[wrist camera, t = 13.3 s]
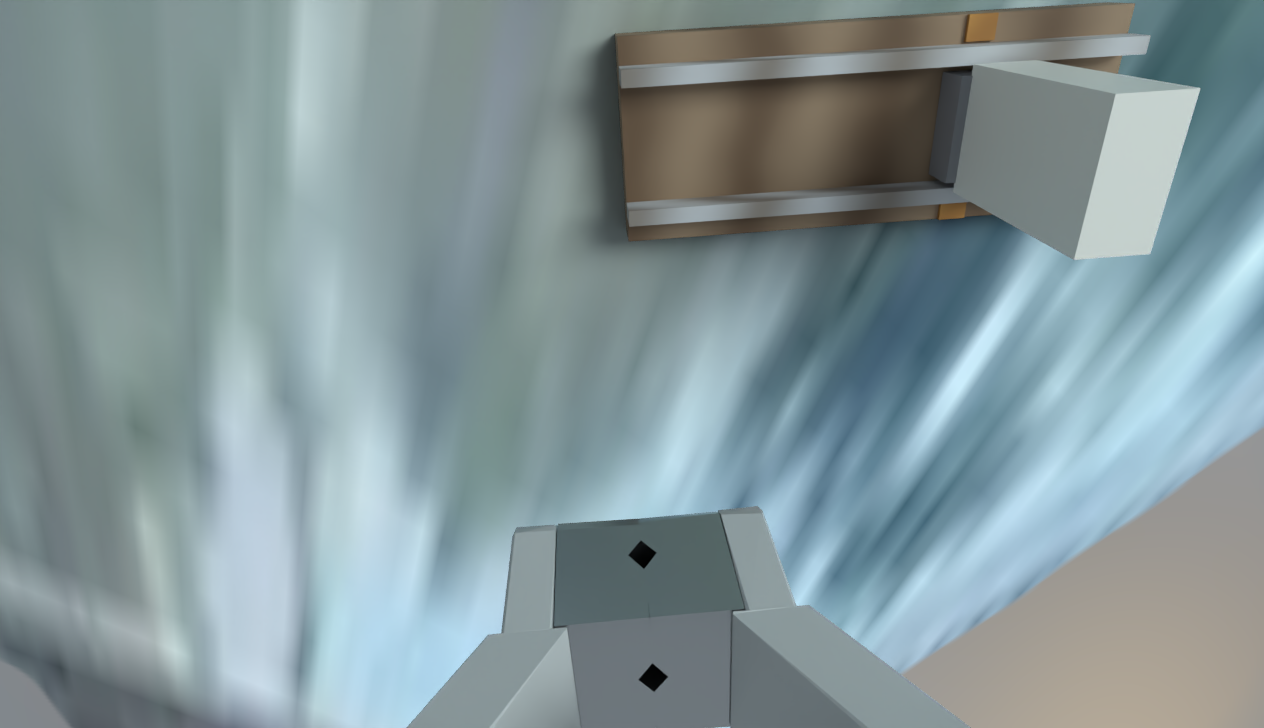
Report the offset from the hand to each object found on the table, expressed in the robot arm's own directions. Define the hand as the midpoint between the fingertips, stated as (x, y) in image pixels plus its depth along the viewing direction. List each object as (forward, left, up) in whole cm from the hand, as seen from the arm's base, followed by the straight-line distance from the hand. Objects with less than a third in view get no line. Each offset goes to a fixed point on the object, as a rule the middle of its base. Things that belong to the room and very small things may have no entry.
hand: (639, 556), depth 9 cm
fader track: (+1, +14, -32) cm, 35 cm away
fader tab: (+1, +19, -30) cm, 36 cm away
